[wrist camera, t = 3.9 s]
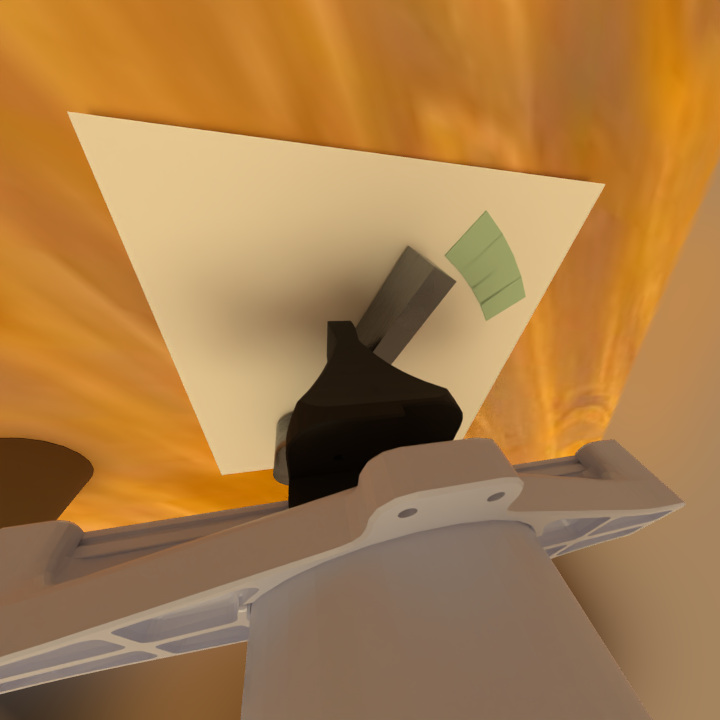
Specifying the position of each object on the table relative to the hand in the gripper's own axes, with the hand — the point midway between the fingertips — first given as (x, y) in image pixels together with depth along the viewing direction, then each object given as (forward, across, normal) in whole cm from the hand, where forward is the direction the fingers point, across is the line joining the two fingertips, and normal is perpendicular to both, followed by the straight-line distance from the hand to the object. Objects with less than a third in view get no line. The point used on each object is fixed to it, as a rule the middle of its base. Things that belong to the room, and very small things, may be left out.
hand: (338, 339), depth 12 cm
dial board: (+2, -2, +3) cm, 4 cm away
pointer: (+1, 0, +3) cm, 3 cm away
